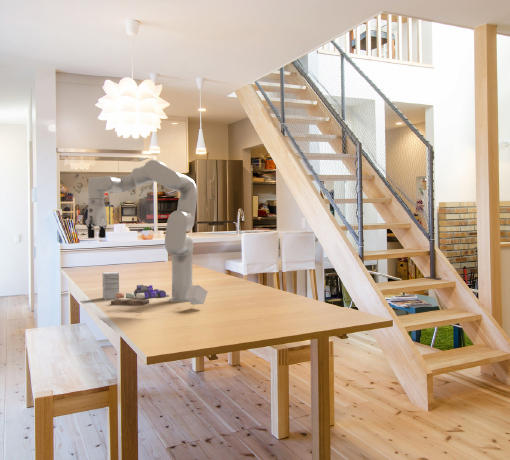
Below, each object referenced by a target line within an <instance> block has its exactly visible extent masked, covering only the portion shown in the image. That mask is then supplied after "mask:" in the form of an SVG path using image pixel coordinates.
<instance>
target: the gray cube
mask: <svg viewBox="0 0 510 460" xmlns="http://www.w3.org/2000/svg"><path fill="white" fill-rule="evenodd" d="M207 295H208V291H207V290H206V289H205V288H203V287H202V286H200V285H199V284H197V285H195V284H194V285H192V286H189V288H188V291H187V294H186V297H185V299H186V300H188V302H190V303H191V304H192V305H204V303H205V301H206V297H207Z"/></svg>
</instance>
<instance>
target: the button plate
mask: <svg viewBox="0 0 510 460" xmlns="http://www.w3.org/2000/svg"><path fill="white" fill-rule="evenodd" d="M148 304H150V300H149V299H129V298H125V299H124V298H119V299H112V300H111V301H110V305H112V306H115V305H118V306H145V305H148Z"/></svg>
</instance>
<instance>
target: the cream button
mask: <svg viewBox="0 0 510 460" xmlns="http://www.w3.org/2000/svg"><path fill="white" fill-rule="evenodd" d="M142 298H145V297H144V293H137V294H136V297H135V299H136V300H143V299H142Z"/></svg>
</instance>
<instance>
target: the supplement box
mask: <svg viewBox="0 0 510 460" xmlns="http://www.w3.org/2000/svg"><path fill="white" fill-rule="evenodd" d="M116 293H120V273H119V272H117V271H108V272H107V271H106V272H102V298H103V300H104V301H105V300H117V299H120V298H116Z"/></svg>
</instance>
